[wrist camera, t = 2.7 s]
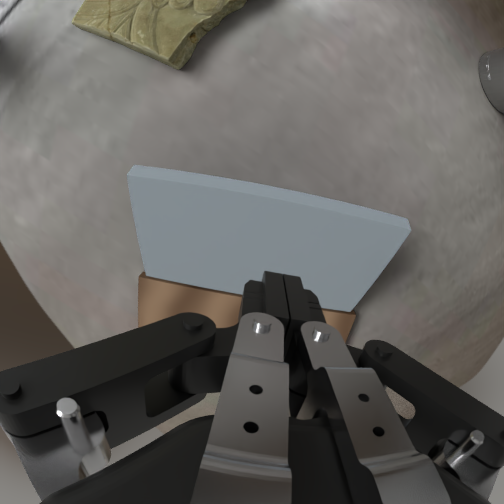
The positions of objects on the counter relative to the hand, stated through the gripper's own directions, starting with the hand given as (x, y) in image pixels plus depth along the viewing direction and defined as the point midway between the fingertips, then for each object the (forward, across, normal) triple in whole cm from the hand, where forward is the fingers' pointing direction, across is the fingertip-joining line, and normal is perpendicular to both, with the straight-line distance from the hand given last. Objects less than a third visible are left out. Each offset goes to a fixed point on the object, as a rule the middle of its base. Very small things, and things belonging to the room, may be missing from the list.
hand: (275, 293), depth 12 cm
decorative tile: (+21, +15, -25) cm, 36 cm away
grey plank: (+16, 0, +3) cm, 17 cm away
